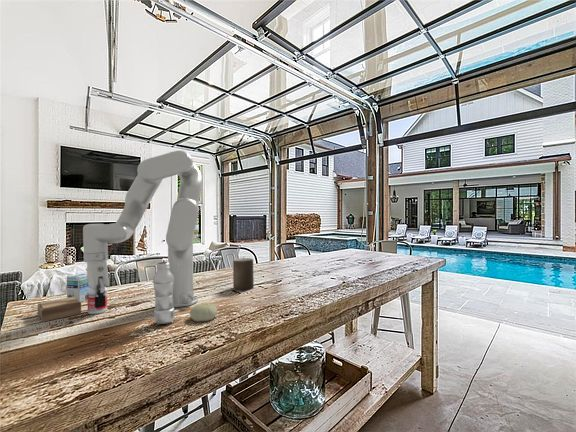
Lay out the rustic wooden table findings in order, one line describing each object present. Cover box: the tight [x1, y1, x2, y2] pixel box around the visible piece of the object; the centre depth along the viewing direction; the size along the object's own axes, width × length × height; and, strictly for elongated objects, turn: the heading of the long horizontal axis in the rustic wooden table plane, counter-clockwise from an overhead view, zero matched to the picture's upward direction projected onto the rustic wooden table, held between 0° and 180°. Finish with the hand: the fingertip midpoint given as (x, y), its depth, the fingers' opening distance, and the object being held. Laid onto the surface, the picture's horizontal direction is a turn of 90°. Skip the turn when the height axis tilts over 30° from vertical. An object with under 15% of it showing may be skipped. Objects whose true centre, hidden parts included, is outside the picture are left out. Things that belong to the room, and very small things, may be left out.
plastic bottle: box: [152, 261, 176, 325], centre depth 96 cm, size 6×7×20 cm
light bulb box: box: [66, 271, 90, 303], centre depth 125 cm, size 11×7×11 cm, turn 168°
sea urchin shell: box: [189, 302, 218, 323], centre depth 100 cm, size 9×8×8 cm
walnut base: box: [36, 297, 82, 323], centre depth 106 cm, size 11×11×4 cm
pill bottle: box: [86, 283, 108, 315], centre depth 108 cm, size 6×6×11 cm
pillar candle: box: [232, 257, 255, 291], centre depth 139 cm, size 10×10×15 cm
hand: (97, 304), depth 108 cm, fingers closed on pill bottle, 6 cm apart
